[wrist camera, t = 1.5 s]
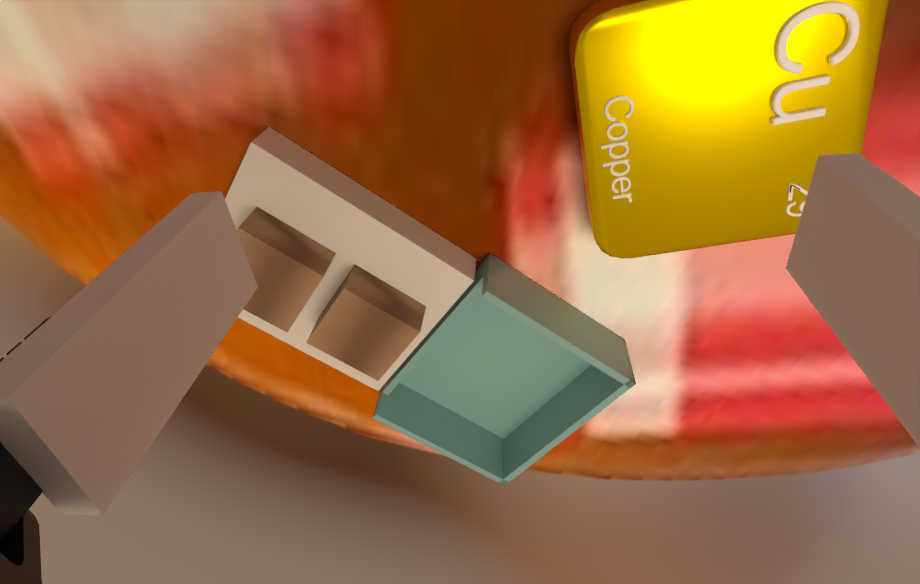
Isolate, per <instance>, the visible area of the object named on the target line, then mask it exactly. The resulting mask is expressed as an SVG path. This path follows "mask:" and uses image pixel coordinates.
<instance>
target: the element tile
mask: <svg viewBox="0 0 920 584" xmlns="http://www.w3.org/2000/svg"><path fill="white" fill-rule="evenodd" d="M888 2H889V0H600V1H597V2H595V3H593V4H591V5H590V6H589V7H587V8H586V9H584V10H583V11H582V12H581V13H580V14H579V16H578V17H577V19H576V20H575V21H574V23H573V26H572V29H571V33H570V37H569V55H570V63H571V72H572V80H573V89H574V98H575V106H576V115H577V123H578V132H579V141H580V149H581V158H582V166H583V175H584V183H585V192H586V201H587V209H588V214H589V218H590V223H591V227H592V231H593V235H594V238H595V241H596V243H597V245H598V246H599V248H600V249H601V250H602V251H603V252H604V253H606V254H608V255H609V256H612V257H617V258H636V257H642V256H649V255H656V254H663V253H669V252H676V251H683V250H690V249H696V248H703V247H710V246H716V245H723V244H730V243H737V242H743V241H750V240H757V239H763V238H770V237H777V236H784V235H790V234H796V232H797V228H798V225H799V222H800V218H801V215H802V211H803V208H804V204H805V201H806V197H807V194H808V190H809V187H810V184H811V180H812V177H813V173H814V170H815V166H816V163H817V159H818V156H822V155H838V154H855V153H859V154H862V148H863V143H864V137H865V131H866V126H867V120H868V115H869V109H870V103H871V98H872V92H873V86H874V81H875V75H876V69H877V64H878V58H879V52H880V47H881V41H882V36H883V30H884V24H885V19H886V13H887V7H888Z"/></svg>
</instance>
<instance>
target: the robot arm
mask: <svg viewBox="0 0 920 584" xmlns="http://www.w3.org/2000/svg"><path fill="white" fill-rule="evenodd" d="M786 269H787V270H788V272H789V273H790V274H791V276H792V277H793V278H794V280H795V281H796V282H797V284H798V285H799V286H800V288H801V289H802V290H803V292H804V293H805V294H806V296H807V297H808V299H809V300H810V301H811V303H812V304H813V305H814V307H815V308H816V309H817V311H818V312H819V313H820V315H821V316H822V317H823V319H824V320H825V321H826V323H827V324H828V325H829V327H830V328H831V329H832V331H833V332H834V333H835V335H836V336H837V337H838V339H839V340H840V341H841V343H842V344H843V345H844V347H845V348H846V349H847V351H848V352H849V353H850V355H851V356H852V358H853V359H854V360H855V362H856V363H857V364H858V366H859V367H860V368H861V370H862V371H863V372H864V374H865V375H866V376H867V378H868V379H869V380H870V382H871V383H872V384H873V386H874V387H875V388H876V390H877V391H878V392H879V394H880V395H881V396H882V398H883V399H884V400H885V402H886V403H887V404H888V406H889V407H890V408H891V410H892V411H893V413H894V414H895V415H896V417H897V418H898V419H899V421H900V422H901V423H902V425H903V426H904V427H905V429H906V430H907V431H908V433H909V434H910V435H911V437H912V438H913V439H914V441H915V442H916V443H917V445H918V446H919V447H920V197H919V196H918V195H916V194H915V193H913V192H912V191H911V190H909V189H908V188H906V187H905V186H904V185H902V184H901V183H899V182H898V181H897V180H895V179H894V178H893V177H891V176H890V175H888V174H887V173H886V172H884V171H883V170H881V169H880V168H879V167H877V166H876V165H874V164H873V163H872V162H870V161H869V160H868V159H866V158H865V157H863V156H862V155H861V154H859V153H855V154H838V155H822V156H818V159H817V163H816V166H815V170H814V173H813V177H812V180H811V184H810V187H809V190H808V194H807V197H806V201H805V204H804V208H803V211H802V215H801V218H800V222H799V225H798V228H797V232H796V235H795V239H794V242H793V246H792V249H791V253H790V256H789V260H788V263H787V267H786ZM257 288H258V286H257V283H256V280H255V278H254V275H253V273H252V270H251V267H250V265H249V262H248V259H247V257H246V254H245V251H244V249H243V246H242V244H241V241H240V238H239V236H238V233H237V230H236V228H235V225H234V222H233V220H232V217H231V215H230V212H229V209H228V207H227V204H226V201H225V199H224V196H223V193H222V191H219V192H202V193H191V194H190V195H189V196H188V197H187V198H186V199H184V200H183V201H182V202H181V203H180V204H179V205H178V206H176V207H175V208H174V209H173V210H172V211H171V212H170V213H169V214H167V215H166V216H165V217H164V218H163V219H162V220H161V221H159V222H158V223H157V224H156V225H155V226H154V227H153V228H151V229H150V230H149V231H148V232H147V233H146V234H145V235H144V236H142V237H141V238H140V239H139V240H138V241H137V242H136V243H134V244H133V245H132V246H131V247H130V248H129V249H128V250H127V251H125V252H124V253H123V254H122V255H121V256H120V257H119V258H117V259H116V260H115V261H114V262H113V263H112V264H111V265H110V266H108V267H107V268H106V269H105V270H104V271H103V272H102V273H100V274H99V275H98V276H97V277H96V278H95V279H94V280H93V281H91V282H90V283H89V284H88V285H87V286H86V287H85V288H84V289H83V290H81V291H80V292H79V293H78V294H77V295H76V296H74V297H73V298H72V299H71V300H70V301H69V302H68V303H66V304H65V305H64V306H63V307H62V308H61V309H60V310H59V311H57V313H55V314H54V315H53V316H51V317H49V318H48V319H46V320H45V321H43V322H42V323H41V324H40V325H39V326H38V327H37V328H35V329H34V330H33V331H32V332H31V333H30V334H29V335H27V336H26V337H25V338H24V339H25V341H23V342H20V343H18V344H17V345H16V346H15V347H14V348H13V349H12V350H10V351H9V352H8V353H7V356H6V357H5V358H1V359H0V584H42V581H41V557H40V536H39V524H38V522H37V519H36V517H35V516H34V515H33V514H32V513H31V511H30V510H29V508H30V507H31V506H32V504H33V503H34V502H35V501H36V500H37V498H38V497H39V496H40V494H41V493H43V494H44V495H45V496H46V497H47V498H48V499H49V500H50V501H51V502H52V504H53V505H54V506H55V507H56V508H57V509H58V511H59V512H60V513H61V514H77V515H78V514H79V515H80V514H81V515H104V513H105V512H106V510H107V509H108V507H109V506H110V504H111V503H112V501H113V500H114V498H115V497H116V495H117V494H118V493H119V491H120V490H121V488H122V487H123V485H124V484H125V482H126V481H127V479H128V478H129V476H130V475H131V473H132V472H133V470H134V469H135V468H136V466H137V465H138V463H139V462H140V460H141V459H142V457H143V456H144V454H145V453H146V451H147V450H148V448H149V447H150V445H151V444H152V442H153V441H154V439H155V438H156V437H157V435H158V434H159V432H160V431H161V429H162V428H163V426H164V425H165V423H166V422H167V420H168V419H169V417H170V416H171V414H172V413H173V412H174V410H175V408H176V407H177V406H178V404H179V403H180V401H181V400H182V398H183V397H184V395H185V394H186V392H187V391H188V389H189V388H190V386H191V385H192V383H193V382H194V381H195V379H196V378H197V376H198V375H199V373H200V372H201V370H202V369H203V367H204V366H205V364H206V363H207V361H208V360H209V359H210V357H211V356H212V354H213V353H214V351H215V350H216V348H217V347H218V345H219V344H220V342H221V341H222V339H223V338H224V336H225V335H226V334H227V332H228V331H229V329H230V328H231V326H232V325H233V323H234V322H235V320H236V319H237V317H238V316H239V314H240V313H241V311H242V310H243V308H244V307H245V306H246V304H247V303H248V301H249V300H250V298H251V297H252V295H253V294H254V292H255V291H256V289H257Z"/></svg>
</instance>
